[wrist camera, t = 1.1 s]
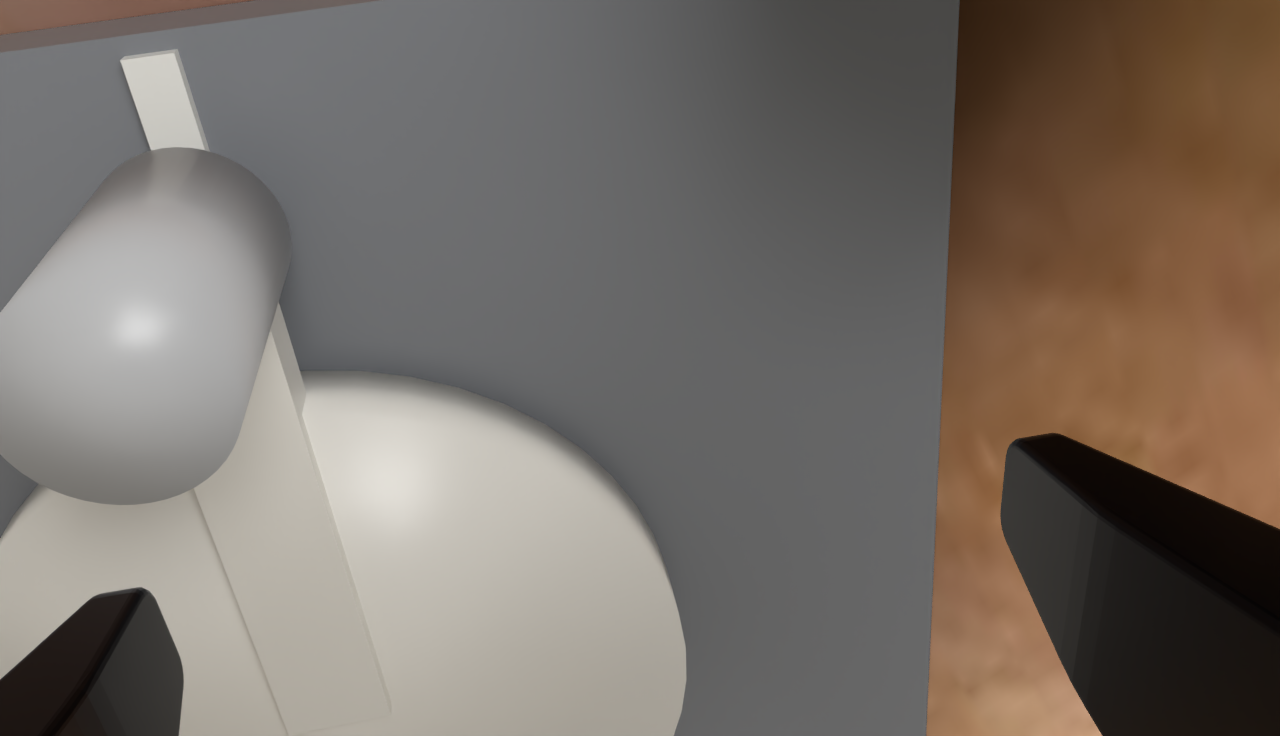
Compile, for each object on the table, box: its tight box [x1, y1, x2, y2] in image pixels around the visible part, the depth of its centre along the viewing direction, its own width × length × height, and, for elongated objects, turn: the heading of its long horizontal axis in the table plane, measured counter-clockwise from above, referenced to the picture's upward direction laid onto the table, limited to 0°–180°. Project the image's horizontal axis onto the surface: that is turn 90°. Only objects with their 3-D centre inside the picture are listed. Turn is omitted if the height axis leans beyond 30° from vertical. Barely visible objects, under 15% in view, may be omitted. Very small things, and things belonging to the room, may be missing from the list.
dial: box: [0, 147, 687, 736], centre depth 19 cm, size 18×14×6 cm
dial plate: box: [0, 0, 960, 736], centre depth 24 cm, size 26×26×2 cm
